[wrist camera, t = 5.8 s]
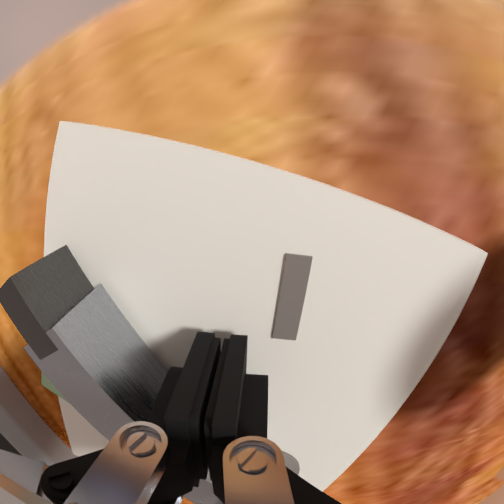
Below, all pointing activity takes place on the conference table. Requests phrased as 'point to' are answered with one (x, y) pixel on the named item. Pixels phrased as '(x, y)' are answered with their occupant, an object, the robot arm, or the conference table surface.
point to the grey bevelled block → (27, 428)
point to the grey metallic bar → (87, 347)
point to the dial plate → (260, 281)
